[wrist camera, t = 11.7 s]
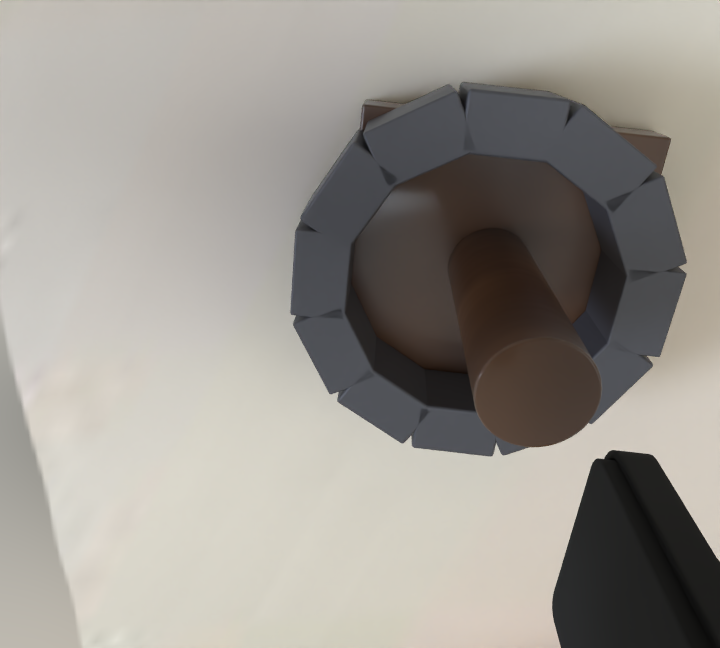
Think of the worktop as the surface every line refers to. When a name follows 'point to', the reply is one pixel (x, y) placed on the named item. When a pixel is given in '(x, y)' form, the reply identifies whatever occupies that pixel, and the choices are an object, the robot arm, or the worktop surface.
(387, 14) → the worktop surface
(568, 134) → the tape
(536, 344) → the peg stand
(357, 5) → the worktop surface
